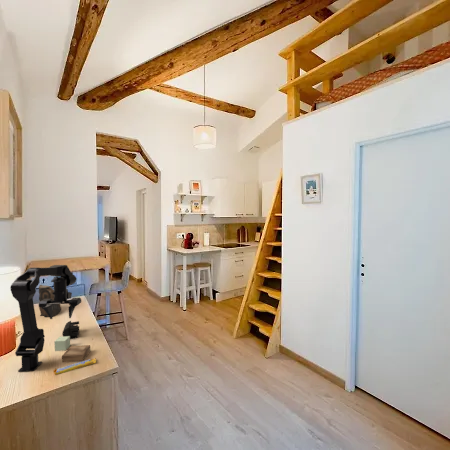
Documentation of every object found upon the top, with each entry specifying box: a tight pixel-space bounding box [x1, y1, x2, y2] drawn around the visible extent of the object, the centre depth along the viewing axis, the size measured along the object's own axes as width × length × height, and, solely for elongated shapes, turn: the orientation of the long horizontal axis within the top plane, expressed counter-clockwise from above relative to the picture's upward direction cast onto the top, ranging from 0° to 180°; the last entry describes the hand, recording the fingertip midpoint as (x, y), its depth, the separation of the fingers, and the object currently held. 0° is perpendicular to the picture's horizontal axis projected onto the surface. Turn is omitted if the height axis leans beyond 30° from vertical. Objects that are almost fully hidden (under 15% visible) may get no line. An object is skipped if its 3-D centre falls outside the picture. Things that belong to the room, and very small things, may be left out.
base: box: [61, 344, 91, 363], centre depth 128 cm, size 9×9×3 cm
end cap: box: [61, 320, 80, 340], centre depth 149 cm, size 10×7×7 cm
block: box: [54, 336, 71, 352], centre depth 135 cm, size 5×5×5 cm
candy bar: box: [52, 357, 97, 376], centre depth 119 cm, size 17×4×2 cm, turn 123°
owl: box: [38, 284, 62, 318], centre depth 179 cm, size 13×13×20 cm
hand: (60, 318), depth 141 cm, fingers open, 9 cm apart
